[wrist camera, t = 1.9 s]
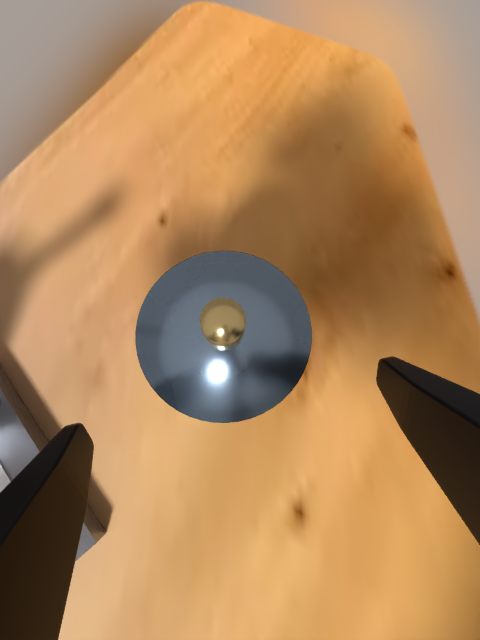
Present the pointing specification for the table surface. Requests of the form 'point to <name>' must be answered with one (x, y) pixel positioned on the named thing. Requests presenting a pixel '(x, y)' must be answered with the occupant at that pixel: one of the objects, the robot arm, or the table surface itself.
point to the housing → (223, 336)
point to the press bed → (30, 452)
